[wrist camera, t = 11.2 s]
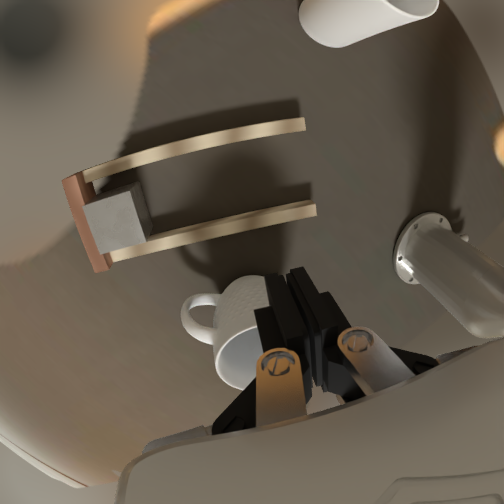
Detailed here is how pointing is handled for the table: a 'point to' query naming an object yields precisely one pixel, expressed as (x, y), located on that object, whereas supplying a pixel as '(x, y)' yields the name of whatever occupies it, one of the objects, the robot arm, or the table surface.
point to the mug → (232, 328)
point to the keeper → (118, 218)
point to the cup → (358, 18)
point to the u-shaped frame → (83, 190)
